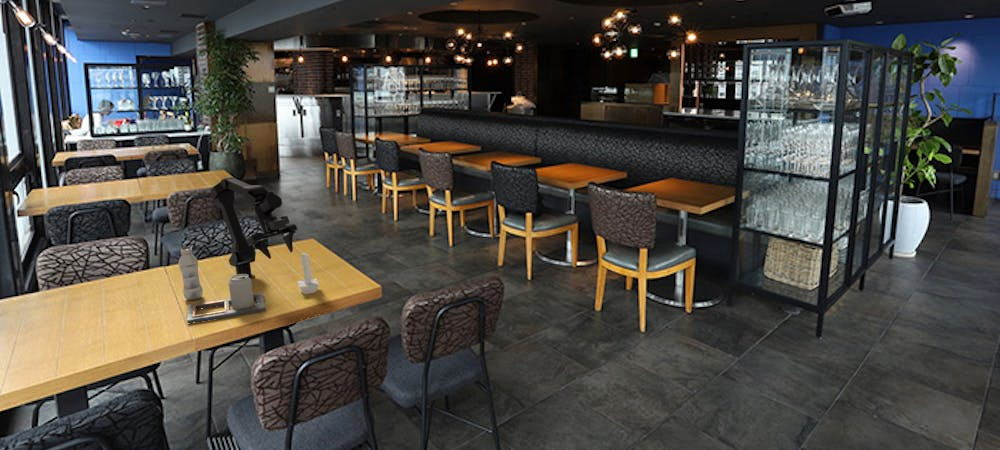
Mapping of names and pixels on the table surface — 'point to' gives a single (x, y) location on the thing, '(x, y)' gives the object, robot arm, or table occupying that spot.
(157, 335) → the table surface
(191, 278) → the plastic bottle
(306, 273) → the figurine
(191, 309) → the rail plate
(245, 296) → the can
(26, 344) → the table surface
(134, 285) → the table surface
